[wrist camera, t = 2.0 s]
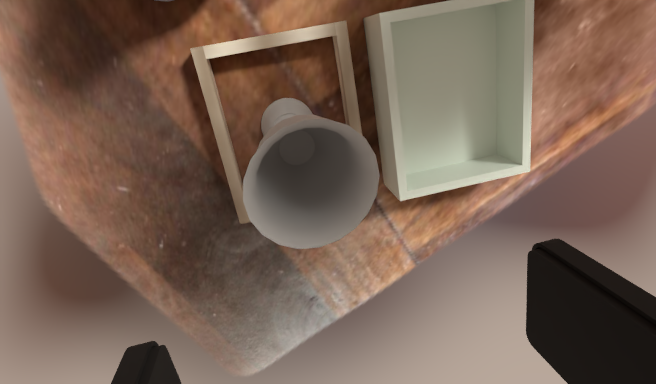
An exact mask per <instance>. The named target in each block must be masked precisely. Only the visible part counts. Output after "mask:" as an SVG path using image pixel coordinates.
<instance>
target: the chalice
mask: <svg viewBox="0 0 656 384" xmlns="http://www.w3.org/2000/svg"><path fill="white" fill-rule="evenodd" d="M261 130H262V133H263V136H264V137H263V139H262V140H261V141H260V143H259V146H258V149H257V152H256V153H255V154H254V156H253V157H252V158H251V160H250V163H249V165H248V168H247V171H246V174H245V177H244V179H243V202H244V205H245V208H246V211H247V214H248V217H249V220H250V221H251V222H252V223H253V224H254V226H255V227H256V228H257V229H258V230H259V232H260V233H261V234H262V235H263V236H265V237H267V238H268V239H270V240H272V241H273V242H275V243H277V244H279V245H282V246H287V247H291V248H296V249H306V248H317V247H322V246H324V245H327V244H330V243H332V242H335V241H338V240H340V239H341V238H342V237H344V236H345V235H347V234H348V233H350V232H351V231H352V230H354V229H355V228H356V227H357V226H358V225H359V223H360V222H361V221H362V220H363V219H364V218H365V216H366V215H367V214H368V213H369V211H370V208H371V206H372V204H373V202H374V200H375V198H376V196H377V190H378V183H379V176H380V174H379V169H378V164H377V159H376V155H375V153H374V152H373V150H372V148H371V147H370V145H369V143H368V142H367V140H366V138H365V137H363V136H362V135H361V134H359V133H358V132H357V131H355V130H354V129H353V128H351V127H350V126H349V125H346V124H343V123H339V122H336V121H333V120H330V119H326V118H323V117H319V116H316V115H313V114H312V112H311V111H310V109H309V108H308V106H307V105H305V104H304V103H303V102H301V101H299V100H297V99H294V98H282V99H279V100H276V101H274V102H273V103H272V104H270V105H269V106H268V107H267V109H266V110H265V111H264V113H263V116H262V120H261Z"/></svg>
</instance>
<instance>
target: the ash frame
mask: <svg viewBox="0 0 656 384" xmlns="http://www.w3.org/2000/svg"><path fill="white" fill-rule="evenodd" d="M330 36H332V37H333V44H334V50H335V57H336V63H337V69H338V76H339V82H340V89H341V95H342V102H343V108H344V115H345V121H346V125H349V126H350V127H351V128H353V129H354V130H355V131H357V132H358V133H359V134H361V135H362V130H361V123H360V116H359V108H358V101H357V94H356V87H355V80H354V73H353V66H352V58H351V51H350V44H349V37H348V30H347V23H346V21H340V22H335V23H329V24H324V25H318V26H313V27H307V28H302V29H296V30H290V31H285V32H279V33H274V34H268V35H263V36H257V37H252V38H246V39H240V40H235V41H229V42H224V43H218V44H213V45H207V46H202V47H196V48H191V49H190V50H191V53H192V57H193V60H194V64H195V67H196V71H197V74H198V78H199V81H200V85H201V88H202V92H203V95H204V99H205V102H206V106H207V109H208V113H209V116H210V120H211V123H212V127H213V130H214V134H215V137H216V141H217V144H218V148H219V151H220V155H221V158H222V162H223V166H224V169H225V173H226V176H227V180H228V183H229V187H230V190H231V194H232V197H233V201H234V204H235V208H236V211H237V215H238V218H239V222H240V224H243V223H248V222H251V221H250V220H249V217H248V214H247V211H246V208H245V205H244V202H243V182H242V179H241V175H240V171H239V168H238V164H237V160H236V156H235V153H234V149H233V145H232V142H231V138H230V134H229V131H228V127H227V123H226V119H225V116H224V112H223V108H222V105H221V101H220V97H219V94H218V90H217V86H216V82H215V79H214V75H213V71H212V68H211V64H210V60H209V59H211V58H216V57H221V56H227V55H232V54H238V53H243V52H249V51H254V50H260V49H265V48H270V47H276V46H281V45H287V44H292V43H298V42H303V41H309V40H314V39H320V38H325V37H330Z"/></svg>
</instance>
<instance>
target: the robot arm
mask: <svg viewBox="0 0 656 384" xmlns="http://www.w3.org/2000/svg"><path fill="white" fill-rule="evenodd" d="M527 265H528V266H527V313H526V316H527V317H526V318H527V319H526V334H527V338H528V340H529V342H530V343H531V345H532V346H533V347H534V348H535V349H536V350H537V352H538V353H539V354H540V355H541V356H542V357H543V358H544V359H545V360H546V361H547V362H548V363H549V364H550V365H551V366H552V367H553V368H554V370H555V371H556V372H557V373H558V374H559V375H560V376H561V377H562V378H563V379H564V380H565V381H566V382H567V383H568V384H656V297H654V296H653V295H651V294H649V293H648V292H646V291H644V290H643V289H641V288H639V287H638V286H636V285H634V284H633V283H631V282H630V281H628V280H626V279H625V278H623V277H621V276H620V275H618V274H616V273H615V272H613V271H612V270H610V269H608V268H606V267H605V266H603V265H602V264H600V263H598V262H596V261H595V260H594V259H592V258H590V257H588V256H587V255H585V254H584V253H582V252H580V251H579V250H577V249H575V248H574V247H572V246H570V245H569V244H567V243H565V242H564V241H562V240H560V239H552V240H549V241H544V242H541V243H536V244H535V245H534V246H533V248H532V251H530V252H529V253H528V264H527ZM111 384H181V382H180V379H179V376H178V374H177V372H176V369H175V367H174V365H173V362H172V360H171V357H170V355H169V352H168V350H167V348H166V346H165V345H161V346H158V344H157V343H156V342H155V341H151V342H147V343H143V344H139V345H135V346H131V347H129V348H127V350H126V351H125V353H124V355H123V358H122V360H121V362H120V364H119V367H118V369H117V371H116V374H115V376H114V378H113V380H112V383H111Z"/></svg>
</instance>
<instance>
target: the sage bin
mask: <svg viewBox="0 0 656 384" xmlns="http://www.w3.org/2000/svg"><path fill="white" fill-rule="evenodd" d="M363 21H364V29H365V37H366V45H367V53H368V61H369V69H370V77H371V85H372V93H373V101H374V109H375V117H376V125H377V133H378V141H379V149H380V157H381V165H382V173H383V181H384V185H385V186H386V187H387V188H388V189H389V190H390V191H391V192H392V193H393V194H394V195H395V196H396V197H397V198H398V199H399V201H403V200H408V199H412V198H416V197H421V196H425V195H430V194H434V193H438V192H443V191H447V190H451V189H456V188H460V187H464V186H469V185H473V184H478V183H482V182H486V181H491V180H495V179H499V178H504V177H508V176H512V175H517V174H521V173H525V172H530V152H531V112H532V73H533V33H534V0H449V1H444V2H438V3H432V4H427V5H421V6H416V7H410V8H405V9H399V10H394V11H388V12H382V13H378V14H375V15H372V16H369V17H365V18H363Z"/></svg>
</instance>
